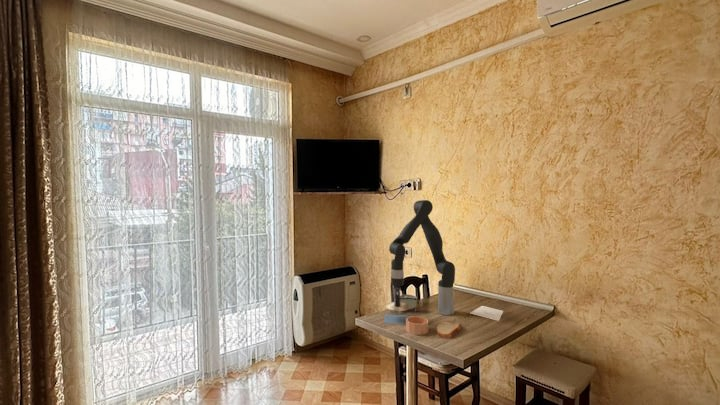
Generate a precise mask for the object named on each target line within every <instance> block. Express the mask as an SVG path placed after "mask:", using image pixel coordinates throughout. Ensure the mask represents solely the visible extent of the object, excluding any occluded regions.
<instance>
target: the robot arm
mask: <svg viewBox="0 0 720 405" xmlns="http://www.w3.org/2000/svg"><path fill="white" fill-rule="evenodd" d="M413 211H414V213H415V215H414V217H413V218H412V219H411V220H410V221H408V222H407V224H406V225H405V226H404V227H403V228H402V230H401V232H400V233H399V235H398V236H397V237H396V238H395V239H393V241H392V242H391V243H390V244H389V248H388V251H389V253H390V254H391V255H394V258H393V259H391V265H390V266H391V268H390V269H391V270H390V284H391V285H392V286H394V287H393V291H394V298H395V300H396V307H399V300H400V299H399V297H400V296H401V290H402V289H401V287H402V286H404V283H405V281H404V280H405V278H404V277H405V276H404V275H405V274H404V260H405V257H406V248H405V244H408V243H409V242H410V240H411V239H412V237H414V236H413V235H414V234H415V232H416V231H417V230H418V229H419V227H420V226H421V229H422V231H423V234H424V236H425V239H426V242H427V244H428V247H429V249H430V252H431V255H432V257H433V261H434V265H435V268H436V271H437V272H438V273H439V274H440V275H441V279H439V281H438V284H437V285H438V286H437V290H438V292H437V295H438V297H437V299H438V300H437V302H438V303H437V306H438V307H437V308H438V309H437V311H438V312H437V313H438V314H440V315H444V316H451V315H454V314H455V313H454V309H455V307H454V306H455V305H454V304H455V303H454V284H455V281H456V280H455V278H456V267H455V265H454V263H453V262H451V261H449V260H447V259H446V256H445V255H444V252H443V246H444V245H443V243H444V242H443V237H442V235H441V233H440V231H439V229H438V227H436V225H435V224H434V223H433V222H432V220H431V219H430V216H429V215H430V214H431V213H432V211H433V203H432V202H431V200H428V199H426V200H425V199H424V200H417V201H415V202H414V204H413Z"/></svg>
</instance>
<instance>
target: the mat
mask: <svg viewBox="0 0 720 405" xmlns="http://www.w3.org/2000/svg"><path fill="white" fill-rule="evenodd" d="M408 317H410V315H407V314H390V313H389V314H387V313H386V314H384V320H383V324H387V325H388V324H390V325H392V324H393V325H406V318H408Z"/></svg>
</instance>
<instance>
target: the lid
mask: <svg viewBox="0 0 720 405" xmlns="http://www.w3.org/2000/svg"><path fill="white" fill-rule="evenodd" d="M399 299H400V298H399ZM393 300H394V301H392V302H387V303H386V304H385V309H386V310H388V311H393V312H400V311H405V310H408V309H409V305H408V304H406V303H401V302H400V300H399V307H396V300H395V297H394V299H393Z"/></svg>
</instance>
